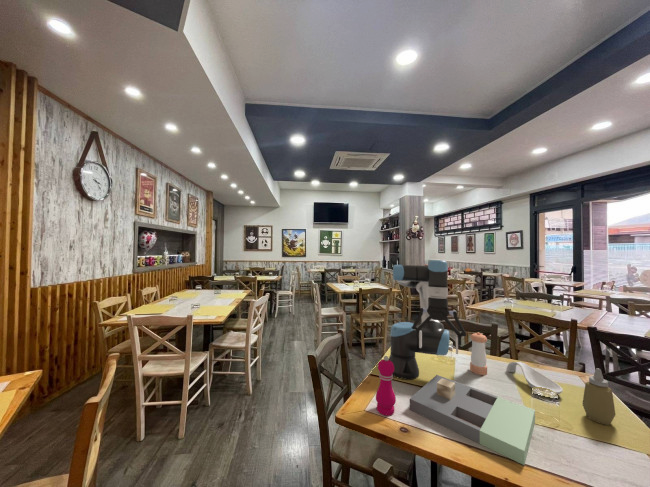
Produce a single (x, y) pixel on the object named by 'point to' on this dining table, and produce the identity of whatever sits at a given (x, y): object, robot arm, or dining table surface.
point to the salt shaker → (478, 354)
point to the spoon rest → (535, 377)
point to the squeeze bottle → (598, 399)
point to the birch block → (446, 388)
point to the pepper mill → (385, 388)
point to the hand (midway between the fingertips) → (438, 350)
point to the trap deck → (479, 417)
